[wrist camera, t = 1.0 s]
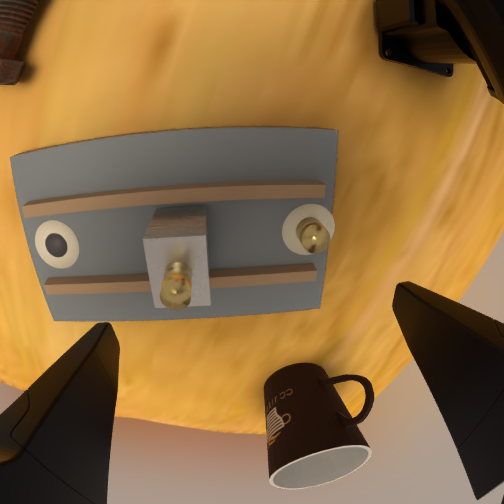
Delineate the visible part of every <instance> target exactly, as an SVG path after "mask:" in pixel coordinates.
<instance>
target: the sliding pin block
mask: <svg viewBox="0 0 504 504" xmlns="http://www.w3.org/2000/svg"><path fill="white" fill-rule="evenodd" d="M143 244H144V250H145V256H146V262H147V268H148V274H149V280H150V285H151V290H152V296H153V301H154V306H155V308H169V309H171V310H181V309H184V308H186V307H190V306H208V305H211V296H210V270H209V252H208V236H207V218H206V205H202V206H185V207H170V208H156V210H155V212H154V214H153V216H152V219H151V221H150V223H149V226H148V228H147V230H146V233H145V235H144V238H143Z"/></svg>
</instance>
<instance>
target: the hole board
mask: <svg viewBox="0 0 504 504" xmlns="http://www.w3.org/2000/svg"><path fill="white" fill-rule="evenodd" d="M337 147H338V130H334V129H329V128H311V127H282V126H235V127H206V128H188V129H174V130H162V131H151V132H141V133H132V134H124V135H116V136H109V137H102V138H95V139H89V140H83V141H77V142H72V143H66V144H61V145H56V146H51V147H46V148H41V149H37V150H32V151H28V152H24V153H19V154H17V155H14V156H12V157H10V160H11V167H12V174H13V180H14V185H15V191H16V196H17V201H18V206H19V210H20V215H21V219H22V223H23V227H24V231H25V235H26V239H27V243H28V246H29V250H30V253H31V257H32V260H33V263H34V267H35V270H36V273H37V276H38V279H39V282H40V285H41V288H42V291H43V293H44V296H45V299H46V302H47V304H48V307H49V309H50V312H51V315H52V317H53V320H54V321H147V320H175V319H196V318H214V317H229V316H243V315H256V314H268V313H279V312H290V311H300V310H310V309H319V308H320V304H321V298H322V291H323V284H324V277H325V269H326V262H327V254H328V247H327V248H326V249H325V250H324V251H322V252H320V253H316V254H313V253H309V252H307V251H306V250H305V249H304V247H303V246H302V244H301V242H300V241H299V239H298V238H297V236H296V228H297V226H298V224H299V222H300V221H302V220H303V219H305V218H308V217H312V218H316V219H318V220H319V221H320V222H321V223H322V225H323V226H324V227H325V228H326V229H327V230H328V232H329V234H330V241H331V239H332V237H333V235H334V231H335V222H334V218H333V216H332V209H333V198H334V187H335V175H336V162H337ZM202 205H206V218H207V236H208V252H209V270H210V296H211V305H208V306H190V307H186V308H184V309H181V310H171V309H169V308H155V306H154V301H153V296H152V290H151V285H150V280H149V274H148V268H147V262H146V256H145V250H144V244H143V238H144V235H145V233H146V230H147V228H148V226H149V223H150V221H151V219H152V216H153V214H154V212H155V210H156V208H170V207H185V206H202ZM328 246H329V245H328Z"/></svg>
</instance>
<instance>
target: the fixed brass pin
mask: <svg viewBox="0 0 504 504" xmlns="http://www.w3.org/2000/svg"><path fill="white" fill-rule="evenodd" d="M296 236H297V238H298V239H299V241H300V242H301V244H302V246H303V247H304V249H305V250H306V251H307V252H309V253H313V254H316V253H320V252H322V251H324V250H325V249H326V248H327V247H328V245H329V243H330V234H329V232H328V230H327V229H326V228H325V227H324V226H323V225H322V223H321V222H320V221H319V220H318V219H316V218H312V217H308V218H305V219H303V220H302V221H300V222H299V224H298V226H297V228H296Z"/></svg>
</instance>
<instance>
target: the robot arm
mask: <svg viewBox="0 0 504 504" xmlns="http://www.w3.org/2000/svg"><path fill="white" fill-rule="evenodd" d="M376 8H377V28H378V30H379V53H380V56H381V57H382V58H383V59H384V60H387V61H391V62H396V63H400V64H404V65H408V66H411V67H415V68H419V69H422V70H426V71H429V72H432V73H436V74H439V75H442V76H445V77H451V76H452V75H453V63H466V64H477V65H478V67H479V69H480V71H481V73H482V75H483V77H484V79H485V81H486V83H487V85H488V86H487V88H488V90H489V93H490V95H491V96H493V97H495V98H497V99H498V100H500V101H501V102H502V103H503V104H504V0H376ZM386 50H387V51H388V52H389V56H387V55H386V53H385V52H386ZM446 68H447V71H448V72H446ZM392 307H393V312H394V314H395V316H396V319H397V321H398V323H399V326H400V328H401V331H402V333H403V336H404V338H405V340H406V343H407V345H408V347H409V349H410V351H411V353H412V355H413V357H414V359H415V361H416V363H417V365H418V367H419V369H420V371H421V373H422V375H423V377H424V379H425V381H426V383H427V385H428V387H429V389H430V391H431V393H432V395H433V397H434V399H435V401H436V403H437V406H438V407H439V410H440V412H441V414H442V416H443V418H444V421H445V423H446V425H447V427H448V430H449V432H450V434H451V436H452V439H453V441H454V443H455V446H456V448H457V451H458V453H459V456H460V458H461V460H462V463H463V466H464V468H465V471H466V473H467V476H468V479H469V481H470V484H471V486H472V489H473V492H474V495H475V497H476V499H477V500H479V499H480V498H482V497H483V496H485V495H486V494H488V493H489V492H490V491H492V490H494V489H495V488H496V487H498V486H499V485H501V484H502V483H503V482H504V323H501V322H499V321H497V320H493V318H491V317H488V316H486V315H484V314H482V313H480V312H477V311H475V310H473V309H471V308H469V307H466V306H464V305H462V304H460V303H457V302H455V301H453V300H451V299H448V298H446V297H444V296H442V295H439V294H437V293H435V292H433V291H430V290H428V289H426V288H423V287H421V286H419V285H416V284H414V283H412V282H409V281H406V282H401V283H398V284H397V286H396V289H395V294H394V298H393V303H392ZM119 354H120V346H119V342H118V339H117V337H116V335H115V332H114V330H113V328H112V325H111V324H110V323H108V322H104V323H97V324H96V325H95V326H93V327H92V328H91V329H90V330H89V331H88V332H87V333H86V334H85V335H84V336H83V337H81V338H80V339H79V340H78V341H77V342H76V343H75V344H74V345H73V346H72V347H71V348H70V349H69V350H67V351H66V352H65V353H64V354H63V355H62V356H61V357H60V358H59V359H58V360H57V361H56V362H55V363H54V364H53V365H52V366H51V367H49V368H48V369H47V370H46V371H45V372H44V373H43V374H42V375H41V376H40V377H39V378H38V379H37V380H36V381H35V382H34V383H33V384H32V385H31V386H30V387H29V388H28V390H26V391H25V392H24V393H23V394H22V395H21V396H20V397H19V398H18V399H17V400H16V401H15V402H13V404H11V405H10V406H9V407H8V408H7V409H6V410H5V411H4V412H3V413H1V414H0V504H107V490H108V472H109V460H110V449H111V440H112V430H113V422H114V414H115V407H116V400H117V392H118V372H119ZM501 504H504V496H503V500H502V503H501Z"/></svg>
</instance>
